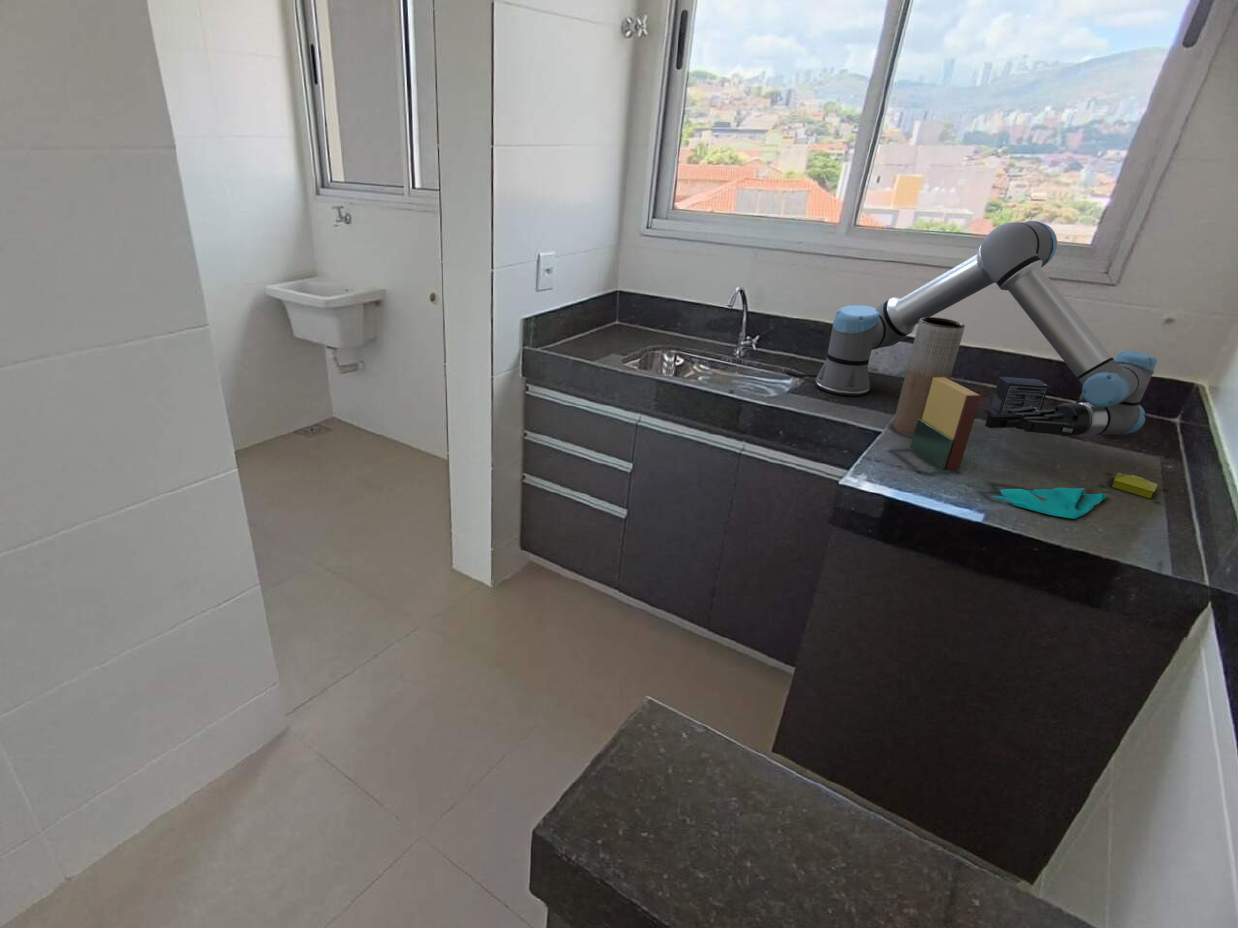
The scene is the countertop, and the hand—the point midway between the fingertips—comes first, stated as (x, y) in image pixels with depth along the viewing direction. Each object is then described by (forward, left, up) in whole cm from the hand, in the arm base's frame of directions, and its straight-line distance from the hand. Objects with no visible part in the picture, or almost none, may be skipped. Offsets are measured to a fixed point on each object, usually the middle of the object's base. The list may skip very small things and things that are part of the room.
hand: (989, 421), depth 148 cm
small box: (-1, +38, -10) cm, 39 cm away
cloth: (+17, -12, -10) cm, 23 cm away
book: (-7, -9, -9) cm, 15 cm away
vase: (-17, +6, -10) cm, 20 cm away
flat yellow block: (+29, +10, -10) cm, 32 cm away
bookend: (-10, -12, -9) cm, 18 cm away
